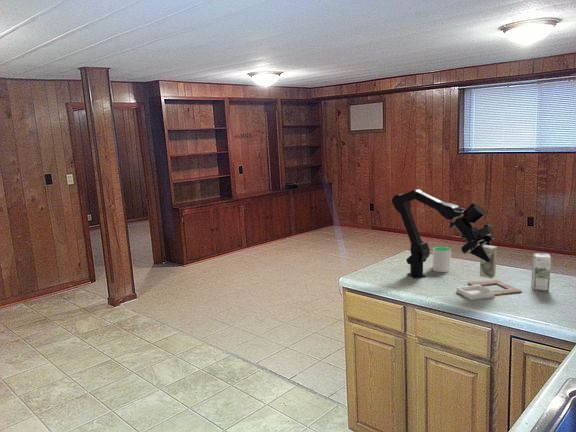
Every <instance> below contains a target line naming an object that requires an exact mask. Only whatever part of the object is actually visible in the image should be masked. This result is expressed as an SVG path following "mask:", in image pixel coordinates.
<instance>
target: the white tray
mask: <svg viewBox="0 0 576 432" xmlns="http://www.w3.org/2000/svg"><path fill="white" fill-rule="evenodd" d="M484 287H485V286H483V287H482V286H480V285H474V286H471V285H465V286H457V287H456V293H457V294H458V295H460V296H462V297H464V298H466V299H468V300H470V301H477V300H487V299H494V298H495V296H494V294H495V293H494V292H492V291H493V290H491V289H489V288H487V287H485V288H484ZM486 288H487V289H486ZM488 289H489V290H488ZM490 290H491V291H490Z"/></svg>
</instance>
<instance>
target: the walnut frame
mask: <svg viewBox="0 0 576 432" xmlns="http://www.w3.org/2000/svg"><path fill="white" fill-rule="evenodd" d="M467 285H468V286H474V285H480V286H482V287H484V288H486V289H488V290H490V291H492V292H494V293H495V294H494V297H495V296H504V295H513V294H520V293H523V291H522V290H521V289H518V288H516V287H514V286H511V285H510V284H507V283H505V282H503V281H501V280H498V279H493V280H492V279H491V280H490V279H489V280H482V281H471V282H467ZM495 285H497V286H499V287H501V288H503V289H496V290H491V289H489V288H487V286H495ZM485 286H486V287H485Z"/></svg>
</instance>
